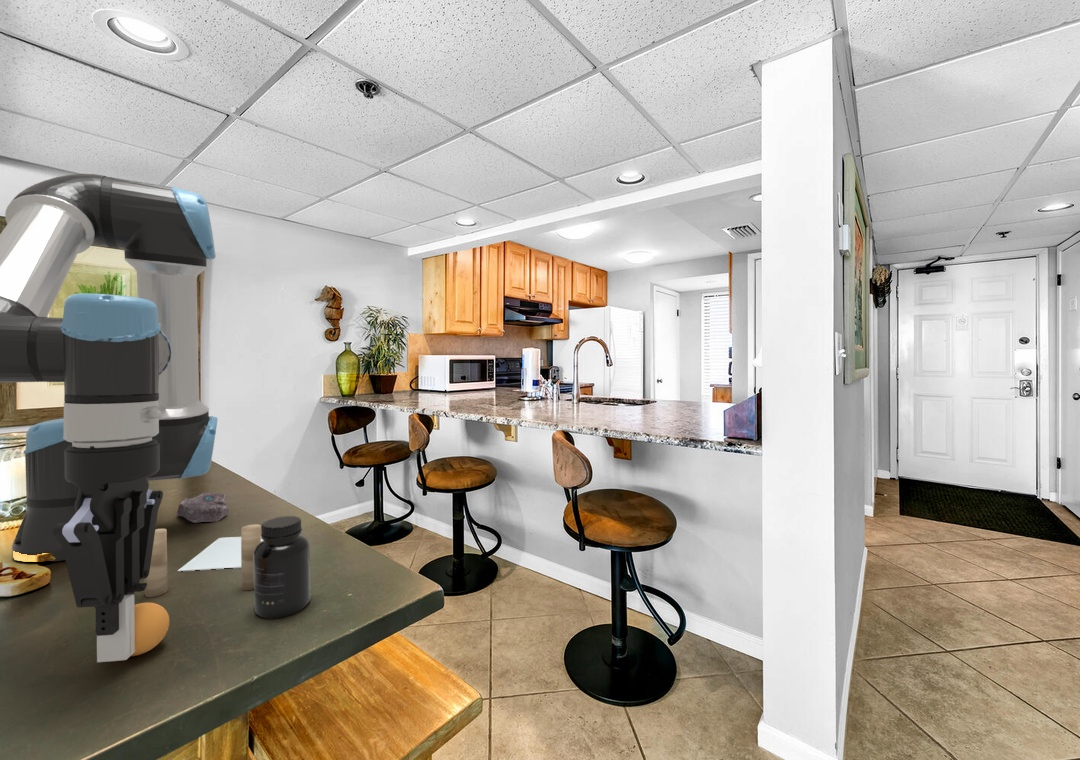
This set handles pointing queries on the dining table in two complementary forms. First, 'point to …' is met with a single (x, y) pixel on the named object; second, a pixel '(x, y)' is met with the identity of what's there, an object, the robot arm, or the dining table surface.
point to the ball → (149, 626)
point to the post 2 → (248, 554)
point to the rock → (204, 508)
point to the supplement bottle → (281, 568)
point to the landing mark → (217, 556)
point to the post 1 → (158, 566)
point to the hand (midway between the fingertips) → (116, 656)
